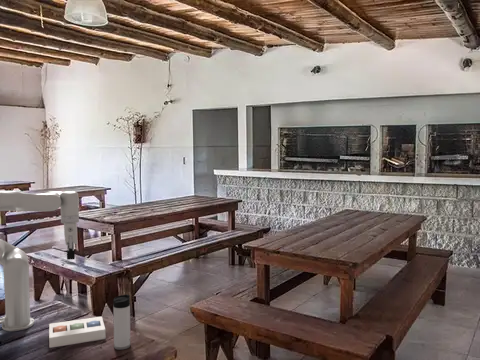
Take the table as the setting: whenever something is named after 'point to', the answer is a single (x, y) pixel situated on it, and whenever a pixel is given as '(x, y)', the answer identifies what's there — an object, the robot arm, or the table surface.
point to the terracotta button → (59, 329)
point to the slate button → (93, 323)
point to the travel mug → (121, 322)
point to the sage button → (77, 326)
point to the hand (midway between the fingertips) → (70, 258)
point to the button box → (76, 332)
